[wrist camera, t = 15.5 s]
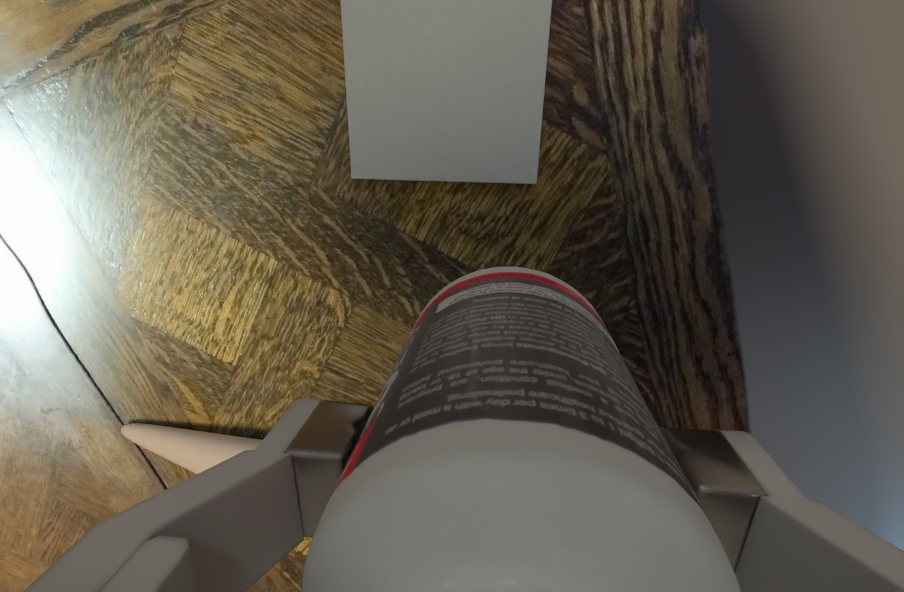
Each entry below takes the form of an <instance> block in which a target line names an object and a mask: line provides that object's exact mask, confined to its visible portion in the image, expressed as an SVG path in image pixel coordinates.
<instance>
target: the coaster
mask: <svg viewBox="0 0 904 592" xmlns="http://www.w3.org/2000/svg"><path fill="white" fill-rule="evenodd" d="M551 8H552V0H341V17H342V33H343V49H344V65H345V81H346V97H347V114H348V130H349V146H350V162H351V178H352V179H375V180H409V181H444V182H478V183H513V184H537V176H538V164H539V152H540V140H541V128H542V116H543V104H544V92H545V80H546V68H547V56H548V44H549V32H550V20H551Z"/></svg>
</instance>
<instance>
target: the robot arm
mask: <svg viewBox="0 0 904 592" xmlns="http://www.w3.org/2000/svg"><path fill="white" fill-rule="evenodd" d="M373 410H374V408H373V406H372V405H370V404H360V403H349V402H339V401H329V400H324V401H323V400H318V399H304V398H300V399H297V400H295V401H294V402H293V403H292V405H291V406H290V407H289V408H288V410H287V411H286V412H285V413H284V414H283V416H282V417H281V418H280V419H279V421H278V422H277V423H276V424H275V425H274V427H273V428H272V429H271V430H270V432H269V433H268V434H267V435H266V437H265V438H264V439H263V440H262V441H261V443H260V444H259V445H258V446H257V448H256V449H255V450H245V451H243V452H241V453H239V454H237V455H235V456H233V457H231V458H229V459H227V460H225V461H223V462H221V463H219V464H217V465H215V466H213V467H211V468H209V469H207V470H205V471H203V472H201V473H199V474H197V475H195V476H193V477H191V478H189V479H187V480H185V481H183V482H181V483H178V484H176V485H174V486H172V487H170V488H168V489H166V490H164V491H162V492H160V493H158V494H156V495H154V496H152V497H150V498H148V499H146V500H144V501H142V502H140V503H138V504H136V505H134V506H132V507H130V508H128V509H126V510H124V511H122V512H120V513H118V514H116V515H114V516H112V517H110V518H108V519H106V520H104V521H102V522H100V523H98V524H96V525H94V526H93V527H92V528H91V529H90V530H89V531H88V532H87V533H86V534H85V535H84V536H83V537H81V538H80V539H79V540H78V541H77V542H76V543H75V544H74V545H73V546H72V547H71V548H70V549H69V550H68V551H66V552H65V553H64V554H63V555H62V556H61V557H60V558H59V559H58V560H57V561H56V562H55V563H54V564H53V565H51V566H50V567H49V568H48V569H47V570H46V571H45V572H44V573H43V574H42V575H41V576H40V577H39V578H38V579H37V580H35V581H34V582H33V583H32V584H31V585H30V586H29V587H28V588H27V589H26V590H25V591H24V592H245V591H246V590H247V589H249V588H250V587H251V586H252V585H253V584H254V583H255V582H256V581H258V580H259V579H260V578H261V577H262V576H263V575H264V574H265V573H267V572H268V571H269V570H270V569H271V568H272V567H273V566H275V565H276V564H277V563H278V562H279V561H280V560H281V559H282V558H284V557H285V556H286V555H287V554H288V553H289V552H290V551H291V550H293V549H294V548H295V547H296V546H297V545H298V544H299V543H300V542H302V541H303V540H304V538H303V537H313V536H314V533H315V531H316V528H317V526H318V524H319V521H320V519H321V516H322V514H323V512H324V509H325V507H326V504H327V502H328V500H329V498H330V496H331V494H332V492H333V491H334V488H335V486H336V484H337V482H338V480H339V478H340V476H341V474H342V472H343V470H344V468H345V466H346V464H347V462H348V460H349V458H350V456H351V454H352V452H353V449H354V447H355V446H356V444H357V442H358V440H359V438H360V436H361V434H362V432H363V430H364V428H365V426H366V424H367V421H368V419H369V417H370V415H371V413H372V411H373ZM659 429H660V431H661V433H662V435H663V436H664V438H665V440H666V442H667V444H668V446H669V447H670V449H671V451H672V453H673V455H674V457H675V459H676V460H677V462H678V464H679V466H680V468H681V470H682V471H683V473H684V475H685V477H686V479H687V480H688V482H689V484H690V485H691V487H692V489H693V490H694V492H695V494H696V496H697V498H698V499H699V501H700V502H701V504H702V506H703V508H704V510H705V513H706V514H707V516H708V518H709V520H710V522H711V524H712V526H713V527H714V529H715V531H716V533H717V535H718V537H719V539H720V541H721V543H722V546H723V548H724V550H725V552H726V554H727V557H728V559H729V561H730V564H731V566H732V568H733V571H734V573H735V576H736V579H737V581H738V584H739V587H740V590H741V592H904V551H903V550H901V549H899V548H898V547H896V546H894V545H892V544H891V543H889V542H887V541H886V540H884V539H882V538H880V537H879V536H877V535H875V534H873V533H872V532H870V531H868V530H866V529H865V528H863V527H861V526H860V525H858V524H856V523H854V522H853V521H851V520H850V519H848V518H846V517H844V516H843V515H841V514H839V513H837V512H836V511H834V510H832V509H830V508H829V507H827V506H825V505H824V504H822V503H820V502H819V501H811V500H807V499H806V498H805V497H804V495H803V494H802V493H801V492H800V491H799V490H798V488H797V487H796V486H795V485H794V484H793V483H792V482H791V480H790V479H789V478H788V477H787V476H786V474H785V473H784V472H783V471H782V470H781V468H780V467H779V466H778V465H777V464H776V463H775V462H774V460H773V459H772V458H771V457H770V456H769V454H768V453H767V452H766V451H765V450H764V448H763V447H762V446H761V445H760V444H759V443H758V441H757V440H756V439H755V438H754V437H753V436H752V435H751V434H749V433H747V432H745V431H730V430H699V429H683V428H667V427H659Z"/></svg>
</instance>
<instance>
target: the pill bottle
mask: <svg viewBox="0 0 904 592" xmlns="http://www.w3.org/2000/svg"><path fill="white" fill-rule="evenodd" d="M302 592H741V590H740V587H739V584H738V581H737V579H736V576H735V573H734V571H733V568H732V566H731V564H730V561H729V559H728V557H727V554H726V552H725V550H724V548H723V546H722V543H721V541H720V539H719V537H718V535H717V533H716V531H715V529H714V527H713V526H712V524H711V522H710V520H709V518H708V516H707V514H706V513H705V510H704V508H703V506H702V504H701V502H700V501H699V499H698V498H697V496H696V494H695V492H694V490H693V489H692V487H691V485H690V484H689V482H688V480H687V479H686V477H685V475H684V473H683V471H682V470H681V468H680V466H679V464H678V462H677V460H676V459H675V457H674V455H673V453H672V451H671V449H670V447H669V446H668V444H667V442H666V440H665V438H664V436H663V435H662V433H661V431H660V429H659V427H658V425H657V424H656V422H655V420H654V418H653V416H652V414H651V413H650V411H649V409H648V407H647V405H646V403H645V401H644V399H643V397H642V395H641V393H640V391H639V389H638V388H637V386H636V384H635V382H634V380H633V378H632V376H631V374H630V372H629V370H628V368H627V366H626V365H625V363H624V361H623V359H622V357H621V355H620V353H619V351H618V349H617V347H616V345H615V343H614V341H613V339H612V337H611V335H610V334H609V332H608V330H607V329H606V327H605V325H604V323H603V322H602V320H601V318H600V317H599V315H598V314H597V312H596V311H595V309H594V308H593V306H592V305H591V304H590V303H589V302H588V301H587V300H586V299H585V298H584V297H583V296H582V295H581V294H580V293H579V292H578V291H577V290H575V289H574V288H573V287H571V286H570V285H568V284H567V283H565V282H563V281H561V280H559V279H558V278H556V277H554V276H552V275H550V274H548V273H544V272H540V271H537V270H533V269H528V268H523V267H494V268H488V269H483V270H479V271H475V272H473V273H470V274H468V275H465V276H463V277H461V278H459V279H457V280H455V281H453V282H451V283H450V284H448V285H447V286H446V287H444V288H443V289H442V290H441V291H439V292H438V293H437V294H436V295H435V296H434V297H433V298H432V299H431V300H430V301H429V303H428V304H427V305H426V307H425V308H424V310H423V311H422V313H421V314H420V316H419V318H418V320H417V322H416V324H415V325H414V327H413V329H412V331H411V333H410V335H409V337H408V339H407V341H406V343H405V345H404V347H403V349H402V351H401V354H400V356H399V357H398V359H397V361H396V364H395V366H394V368H393V370H392V371H391V373H390V375H389V377H388V380H387V383H386V385H385V387H384V389H383V391H382V393H381V395H380V397H379V399H378V401H377V404H376V406H375V408H374V410H373V411H372V413H371V415H370V417H369V419H368V421H367V424H366V426H365V428H364V430H363V432H362V434H361V436H360V438H359V440H358V442H357V444H356V446H355V447H354V449H353V452H352V454H351V456H350V458H349V460H348V462H347V464H346V466H345V468H344V470H343V472H342V474H341V476H340V478H339V480H338V482H337V484H336V486H335V488H334V491H333V492H332V494H331V496H330V498H329V500H328V502H327V504H326V507H325V509H324V512H323V514H322V516H321V519H320V521H319V524H318V526H317V528H316V531H315V533H314V536H313V538H312V541H311V544H310V547H309V550H308V553H307V557H306V562H305V566H304V571H303V581H302Z"/></svg>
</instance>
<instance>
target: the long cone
mask: <svg viewBox="0 0 904 592" xmlns="http://www.w3.org/2000/svg"><path fill="white" fill-rule="evenodd" d="M121 433H122V434H123V435H124V436H125V437H126V438H128V439H129V440H131V441H132V442H134V443H136V444H138V445H140V446H142V447H144V448H146V449H148V450H150V451H152V452H154V453H156V454H158V455H160V456H162V457H164V458H166V459H168V460H170V461H171V462H173V463H175V464H177V465H179V466H181V467H183V468H185V469H187V470H189V471H191V472H193V473H195V474H199V473H201V472H203V471H205V470H207V469H209V468H211V467H213V466H215V465H217V464H219V463H221V462H223V461H225V460H227V459H229V458H231V457H233V456H235V455H237V454H239V453H241V452H243V451H245V450H255V449H256V448H257V446H258V445H259V444H260V443H261V441H262V440H260V439H253V438H245V437H238V436H231V435H224V434H217V433H210V432H203V431H196V430H189V429H181V428H174V427H167V426H159V425H151V424H141V423H129V424H126V425H124V426H123V427H122V428H121Z"/></svg>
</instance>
